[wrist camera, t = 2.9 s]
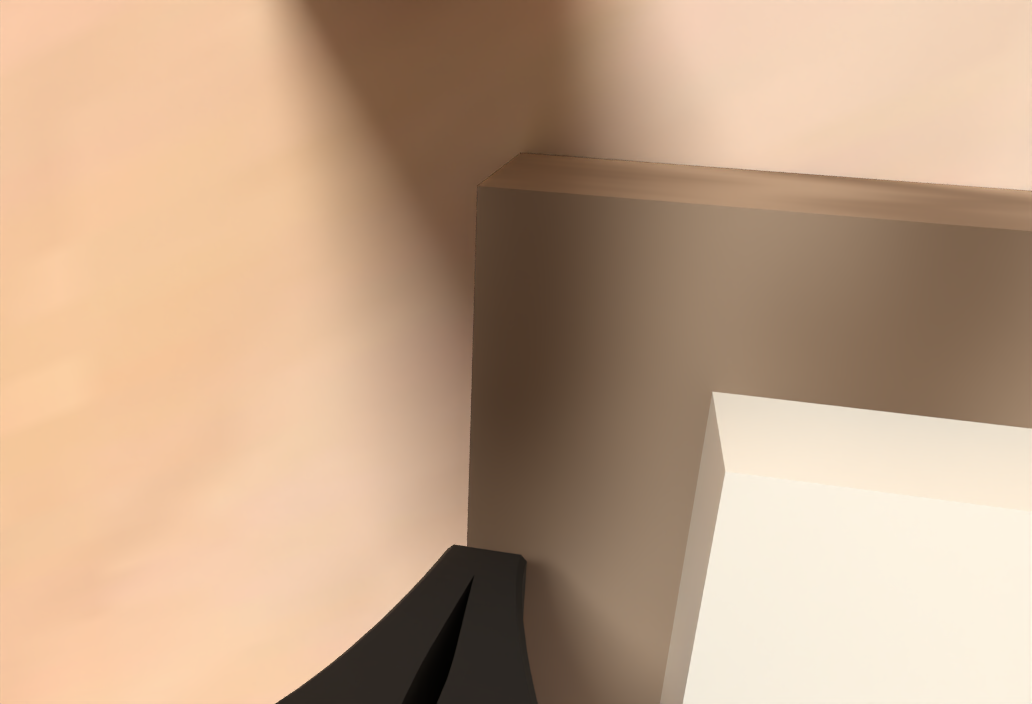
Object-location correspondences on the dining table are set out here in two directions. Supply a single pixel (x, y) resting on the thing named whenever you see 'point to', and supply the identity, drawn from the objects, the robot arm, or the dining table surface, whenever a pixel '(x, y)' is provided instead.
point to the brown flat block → (703, 362)
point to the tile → (854, 560)
